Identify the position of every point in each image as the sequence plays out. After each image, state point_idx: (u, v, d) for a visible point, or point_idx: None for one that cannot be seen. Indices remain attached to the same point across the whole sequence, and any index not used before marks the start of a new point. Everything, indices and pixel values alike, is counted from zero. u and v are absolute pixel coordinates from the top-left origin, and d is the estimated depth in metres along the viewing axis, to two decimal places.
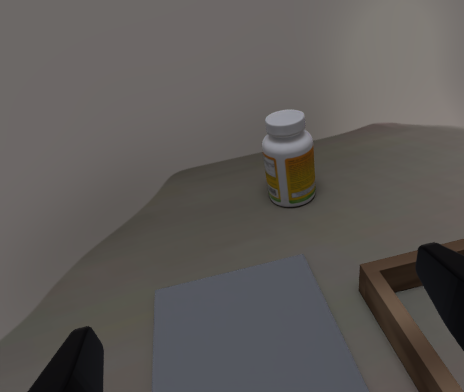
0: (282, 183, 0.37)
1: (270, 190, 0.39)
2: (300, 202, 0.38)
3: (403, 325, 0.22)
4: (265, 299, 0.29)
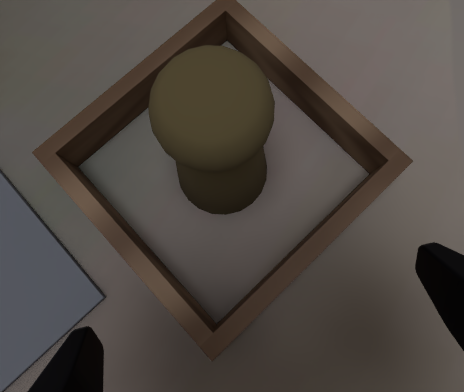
0: None
1: None
2: None
3: (92, 216, 0.20)
4: None
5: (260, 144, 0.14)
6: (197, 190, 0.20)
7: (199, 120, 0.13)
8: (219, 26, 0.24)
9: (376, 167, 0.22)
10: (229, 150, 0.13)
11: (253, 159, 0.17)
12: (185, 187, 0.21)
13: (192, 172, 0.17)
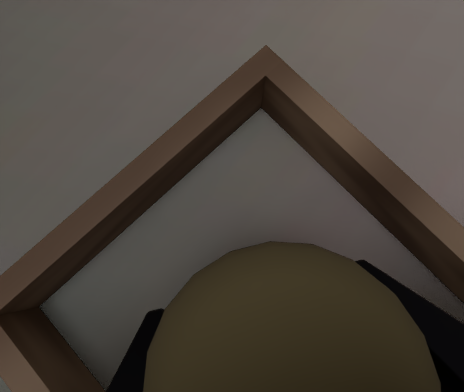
0: None
1: None
2: None
3: None
4: None
5: None
6: None
7: None
8: (254, 95, 0.15)
9: None
10: None
11: None
12: None
13: None
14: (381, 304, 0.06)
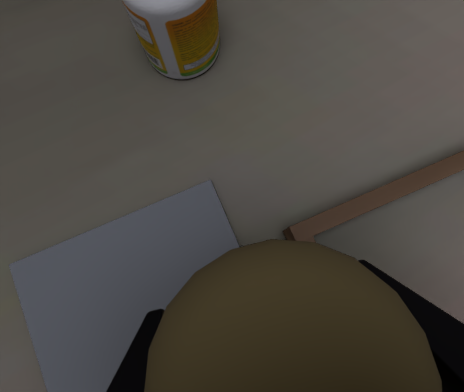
0: (167, 54, 0.22)
1: (147, 54, 0.24)
2: (198, 72, 0.24)
3: None
4: (168, 263, 0.22)
5: None
6: None
7: None
8: None
9: None
10: None
11: None
12: None
13: None
14: (382, 301, 0.06)
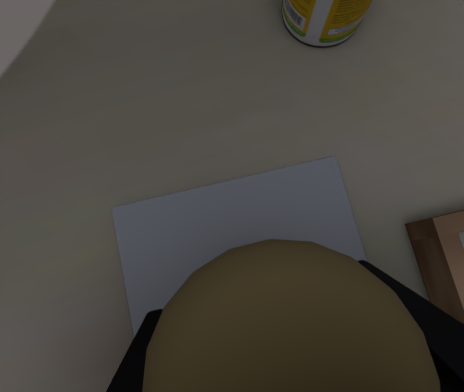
0: (320, 12, 0.20)
1: (290, 12, 0.22)
2: (336, 41, 0.23)
3: None
4: (279, 235, 0.21)
5: None
6: None
7: None
8: None
9: None
10: None
11: None
12: None
13: None
14: (380, 301, 0.06)
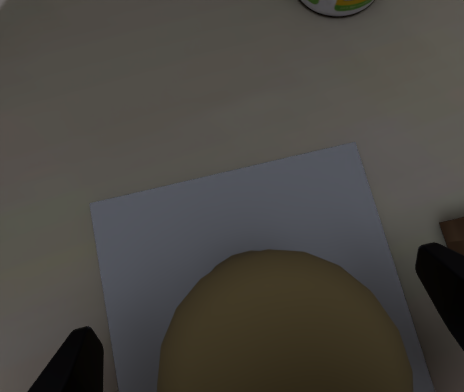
0: None
1: None
2: (354, 9, 0.19)
3: None
4: (289, 236, 0.17)
5: None
6: None
7: None
8: None
9: None
10: None
11: None
12: None
13: None
14: (361, 303, 0.07)
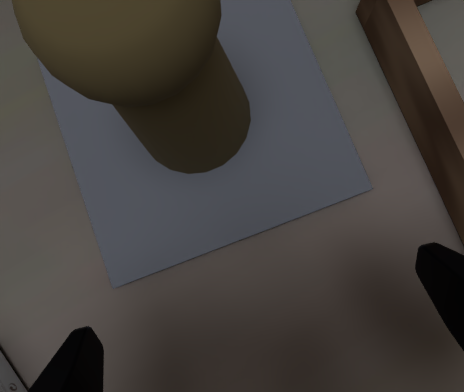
0: None
1: None
2: None
3: (431, 79, 0.15)
4: None
5: (201, 43, 0.09)
6: (152, 144, 0.15)
7: (82, 9, 0.07)
8: None
9: None
10: (145, 56, 0.08)
11: (213, 83, 0.12)
12: None
13: (130, 116, 0.12)
14: None
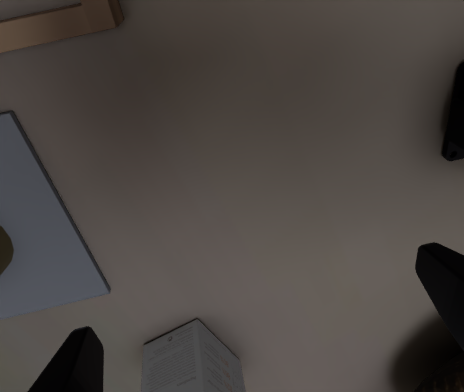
0: None
1: None
2: None
3: None
4: None
5: None
6: None
7: None
8: None
9: None
10: None
11: None
12: None
13: None
14: None
